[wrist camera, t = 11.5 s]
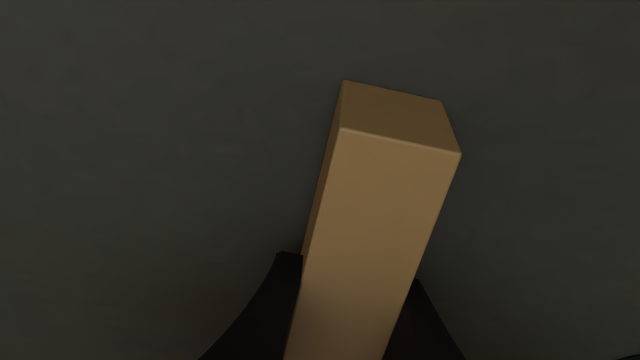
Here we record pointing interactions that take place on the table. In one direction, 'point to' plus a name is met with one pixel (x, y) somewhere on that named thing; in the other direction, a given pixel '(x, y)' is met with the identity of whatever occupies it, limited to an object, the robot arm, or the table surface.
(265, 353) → the robot arm
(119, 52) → the table surface
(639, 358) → the pot
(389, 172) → the knife
